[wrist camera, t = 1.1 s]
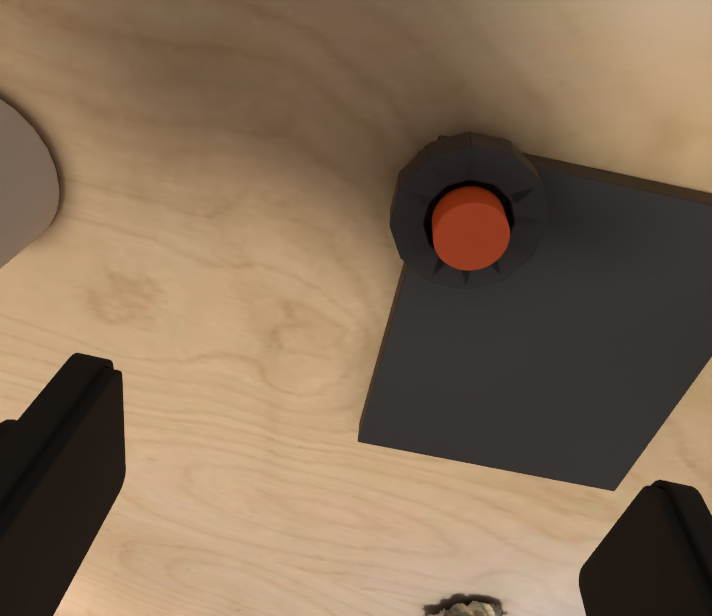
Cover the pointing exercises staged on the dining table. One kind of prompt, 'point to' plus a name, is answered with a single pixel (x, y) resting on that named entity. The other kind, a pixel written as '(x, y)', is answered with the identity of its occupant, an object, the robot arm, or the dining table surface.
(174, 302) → the dining table surface
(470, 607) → the mineral rock
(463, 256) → the button
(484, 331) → the scale
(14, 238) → the cup
